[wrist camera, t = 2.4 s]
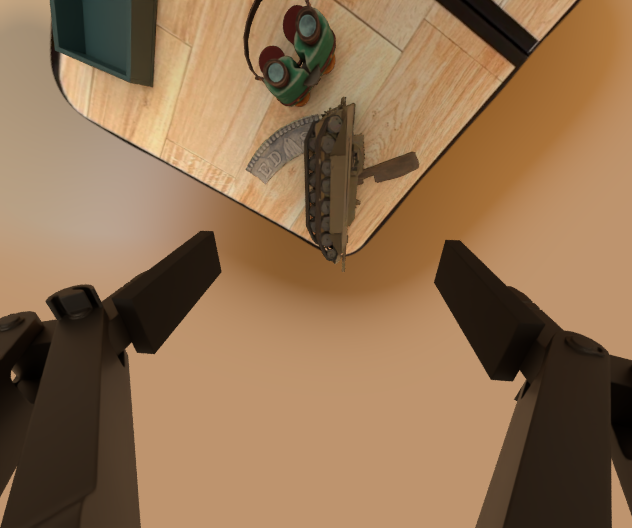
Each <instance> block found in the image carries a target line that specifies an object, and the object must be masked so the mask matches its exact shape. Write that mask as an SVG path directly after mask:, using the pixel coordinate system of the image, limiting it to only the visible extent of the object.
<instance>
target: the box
mask: <svg viewBox="0 0 632 528" xmlns="http://www.w3.org/2000/svg"><path fill="white" fill-rule="evenodd" d="M50 8H51V17H52V27H53V36H54V45H55V50H56V51H58V52H60V53H63V54H65V55H67V56H70V57H72V58H74V59H76V60H79V61H81V62H83V63H86V64H88V65H90V66H93V67H95V68H97V69H100V70H102V71H104V72H107V73H109V74H111V75H114V76H116V77H118V78H121V79H123V80H125V81H127V82H130V83H134V84H140V85H145V86H150V87H153V73H154V53H155V33H156V12H157V0H50Z"/></svg>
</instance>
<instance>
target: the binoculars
mask: <svg viewBox="0 0 632 528" xmlns="http://www.w3.org/2000/svg"><path fill="white" fill-rule="evenodd" d="M261 1H262V0H255V1H254V3H253V5H252V7H251V9H250V12H249V15H248V18H247V21H246V26H245V32H244V52H245V57H246V60H247V63H248V66H249V69H250V70H251V71H252V72H253V74H254V75H255V76H256V77H255V79H256V80H260V81H261V80H262V81H263V82H264V83H265V85H266V86H267V88H268V89H269V91H270V92H271V93H272V94H273V95H274V96H275V97H276V98H277V100H278V101H280V102H281V103H282V104H283V105H285V106H294V105H295V106H303V105H305V104H306V103H307V102H308V100H309V96H310V92H309V91H310V90H311V89H312V87H314V86H315V85H317V84H318V82H319V81H320V79H321V78H320V77H321V76H322V74H327V73H329V72H330V71H331V70H332V69H333V67H334V65H335V54H334V52H335V48H336V38H335V34H334V33H333V31H332V30H331V29H330V26H329V24H328V22H327V20H326V18H325V17H324V16H323V15H322V14H321V13H320V12H319V11H318V10H317V9H315V8H312V7H311V4H310V3H309V0H305V2H306V4H307V6H304V7H302V6H300V5H295V6H292V7H291V8H290V9H288V11H287V12H286V14H285V16H284V20H283V30H284V34H285V36H286V38H287V39H288V40H289V41H290V42H291V43H292V44H293V45H294V47H295V50H296V52H297V54H298V56H299V58H300V61H299V62H298V63H296V62H295V61H294V60H293V59H292V58H291V57H289V56H285V55H284V53H283V51H282V50H281V49H280V48H279V47H277V46H268V47H266V48H265V49H264V50H263V51H262V52H261V54H260V57H259V66H260V69H261V71H262V73H263V75H264V77H260V76H258V75H257V74H256V73H255V72H254V70H253V67H252V64H251V62H250V59H249V47H248V39H249V33H250V28H251V24H252V21H253V19H254V16H255V13H256V11H257V9H258V7H259V5H260V3H261ZM302 62H303V64H302ZM301 64H302V67H300V66H301Z"/></svg>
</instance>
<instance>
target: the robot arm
mask: <svg viewBox="0 0 632 528" xmlns="http://www.w3.org/2000/svg"><path fill="white" fill-rule="evenodd" d="M220 273H221V267H220V262H219V257H218V252H217V247H216V242H215V237H214V233H213V231H200V232H199V233H197V234H196V235H195V236H193V237H192V238H191V239H189V240H188V241H187V242H185V243H184V244H183V245H181V246H180V247H179V248H177V249H176V250H175V251H173V252H172V253H171V254H170V255H168V256H167V257H165V258H164V259H163V260H161V261H160V262H159V263H157V264H156V265H155V266H153V267H152V268H151V269H149V270H147V271H145V272H143V273H141V274H139V275H137V276H136V277H135V278H133V279H132V280H131V281H130V282H128V283H126V284H125V285H124V286H123V287H121V288H120V289H118V290H117V291H116V292H115V293H113V294H112V295H110V296H109V297H107V298H106V299H105V300H103V301H102V302H101V300H100V299H99V296H98V295H97V293H96V291H95V289H94V287H93V286H92V285H77V286H72V287H69V288H66V289H63V290H60V291H58V292H56V293H54V294H53V295H51V296H50V297H48V299H47V300H46V303H47V305H48V306H49V308H50V309H51V311H52V312H53V314H54V316H55V317H56V319H57V320H50V321H44V322H41V320H40V319H39V317H38V316H37V314H36V313H35V312H31V311H28V312H20V313H16V314H10V315H8V316H5V317H2V318H0V496H1V494H2V493H3V491H4V489H5V487H6V485H7V483H8V482H9V480H10V478H11V476H12V474H13V472H14V470H15V469H16V467H17V469H16V473H15V476H14V480H13V483H12V487H11V491H10V494H9V498H8V501H7V505H6V509H5V512H4V516H3V520H2V523H1V527H0V528H141V526H140V513H139V499H138V485H137V471H136V458H135V443H134V430H133V417H132V403H131V389H130V375H129V363H128V355H127V352H126V350H125V348H126V347H128V346H129V345H130V343H131V342H132V343H133V346H134V348H135V350H136V351H137V353H147V354H155V353H156V352H157V350H158V349H159V348H160V347H161V346H162V344H163V343H164V342H165V341H166V339H167V338H168V337H169V336H170V334H171V333H172V332H173V331H174V330H175V328H176V327H177V326H178V325H179V323H180V322H181V321H182V320H183V319H184V317H185V316H186V315H187V314H188V312H189V311H190V310H191V309H192V308H193V306H194V305H195V304H196V303H197V301H198V300H199V299H200V297H201V296H202V295H203V294H204V293H205V292H206V290H207V289H208V288H209V287H210V286H211V284H212V283H213V282H214V281H215V279H216V278H217V277H218V276H219V274H220ZM434 283H435V285H436V287H437V288H438V290H439V292H440V293H441V295H442V297H443V299H444V300H445V302H446V304H447V305H448V307H449V309H450V311H451V312H452V314H453V316H454V317H455V319H456V321H457V322H458V324H459V326H460V328H461V329H462V331H463V333H464V335H465V336H466V338H467V340H468V341H469V343H470V344H471V346H472V348H473V350H474V352H475V353H476V355H477V356H478V358H479V360H480V362H481V363H482V365H483V367H484V369H485V370H486V372H487V374H488V375H489V377H490V379H491V380H501V381H513V380H514V378H515V377H516V375H517V373H518V372H519V370H520V371H521V372H522V374H523V375H524V377H525V378H526V381H525V383H524V384H523V386H522V387H521V389H520V391H519V392H518V394H517V396H516V397H515V399H514V400H516V401H517V404H516V407H515V410H514V413H513V416H512V419H511V422H510V425H509V428H508V431H507V434H506V437H505V440H504V443H503V446H502V449H501V452H500V455H499V458H498V461H497V464H496V467H495V470H494V473H493V476H492V479H491V482H490V485H489V488H488V491H487V494H486V497H485V500H484V503H483V506H482V509H481V512H480V515H479V518H478V521H477V524H476V527H475V528H612V521H611V519H612V516H611V515H612V514H611V513H612V512H611V458H612V461H613V464H614V467H615V470H616V472H617V475H618V478H619V480H620V484H621V487H622V489H623V492H624V495H625V498H626V501H627V504H628V506H629V509H630V512H631V515H632V360H628V359H624V358H621V357H617V356H613V355H609V353H608V351H607V350H606V349H604V348H603V347H602V345H600V344H598V343H597V342H595V341H593V340H592V339H590V338H588V337H585V336H583V335H581V334H578V333H574V332H571V331H564V330H563V329H561V328H560V327H559V326H558V325H557V324H556V323H555V322H554V321H553V320H552V319H551V318H550V317H548V315H546V314H545V313H544V312H543V311H542V310H540V309H539V307H538V306H537V305H536V304H535V303H532V301H531V300H530V299H529V298H528V297H527V296H526V295H525V294H524V293H522V292H520V291H518V290H517V289H515V288H513V287H511V286H506V285H505V284H504V283H503V282H502V281H501V280H500V279H499V278H498V277H497V276H496V275H495V274H494V273H493V272H492V271H491V270H490V269H489V268H487V266H486V265H485V264H484V263H482V261H481V260H480V259H478V258H477V257H476V256H475V255H474V254H473V253H472V252H471V251H470V250H469V249H468V248H467V247H466V246H465V245H464V244H463V243H462V242H461V241H460V240H445V244H444V248H443V251H442V255H441V259H440V262H439V266H438V270H437V273H436V277H435V281H434ZM11 370H12V371H13V372H14V373H15V374H16V377H15V379H14V380H13V381H12V380H11Z"/></svg>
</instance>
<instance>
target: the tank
mask: <svg viewBox="0 0 632 528" xmlns="http://www.w3.org/2000/svg"><path fill="white" fill-rule="evenodd" d="M342 104H343V105H342ZM324 112H325V111H324ZM325 113H327V115H326V114H321V115H322V117H323V118H322V119H321V120H317V121H314V122H312V124H311V126H310V128H309V130H308V133H307V135H306V137H305V140H304V162H305V204H306V227H307V229H308V231H309V233H310V235H311V238H312V240H313V241H314V242H315V243H316V244H318V245H319V247H320V249H321V251H322V253H323V255H324V257H325V258H326V259H327V260H329V261H333V262H334V264H336V263H338V261H339V260H340V259H341V254H342V253H343V256H342V258H343V259H342V272H345V256H346V243H348V235H347V225H348V226H350V225H351V223H352V222H353V220H354V218H355V208H356V205H360V201H359V200H357V199H356V194H357V182H358V179H364V178H358V175H359V174H361V173H362V172H365V171H363V165H364V159H365V158H364V155H365V154H364V149H363V148H364V147H363V144H364V142H363V139H364V135H354V133H353V130H354V129H353V128H354V114H355V104H354V103H353V104H350V105H347V106H346V97H343V98H342V99H341V105H339V106H338V107H337V108H334V109H332V110H331V108H329V111H328V110H327V112H325ZM312 133H313V134H315V135H316V137H312V138H310V137H311V135H312ZM309 150H311V151H313V152H312V153H316V154H313V156H311V157H310V159H309ZM309 170H311V171H313V173H310V174H309ZM366 172H373V171H366ZM309 184H310V185H311V186H313V190H311V191H310V192H309ZM310 203H311V204H312V203H313V204H312V205H311V206H310ZM310 215H311V216H312V217H313V218H312V219H311V220H310ZM312 231H313V232H314V233H316V234H315V235H314V234H313V232H312ZM324 246H325V247H324ZM328 247H329V248H331V249H329V248H328ZM325 248H327V250H328V251H327V252H326V250H325ZM328 254H329V255H328Z"/></svg>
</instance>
